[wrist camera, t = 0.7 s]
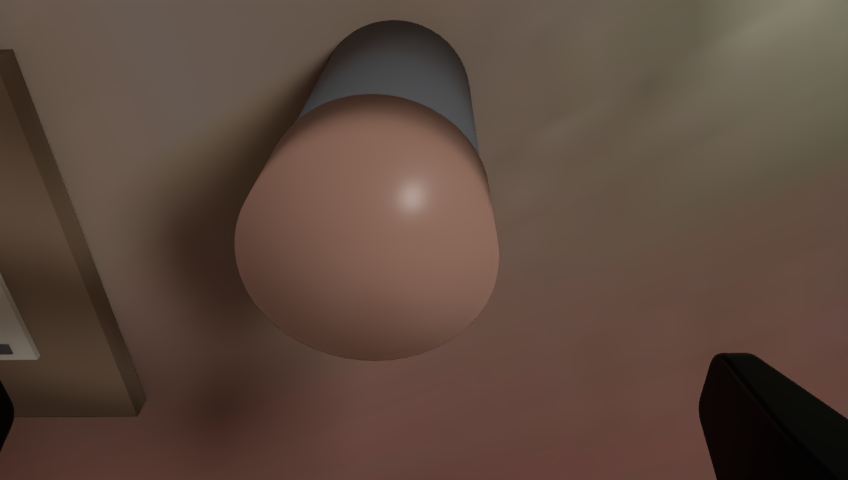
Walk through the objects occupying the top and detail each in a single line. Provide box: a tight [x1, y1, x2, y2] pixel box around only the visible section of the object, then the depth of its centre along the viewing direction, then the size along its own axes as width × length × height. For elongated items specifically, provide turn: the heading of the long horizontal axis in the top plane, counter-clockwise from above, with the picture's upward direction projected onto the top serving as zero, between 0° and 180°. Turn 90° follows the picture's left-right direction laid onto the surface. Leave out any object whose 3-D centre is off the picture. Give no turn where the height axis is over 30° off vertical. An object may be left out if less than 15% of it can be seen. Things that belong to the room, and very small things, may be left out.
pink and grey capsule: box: [234, 20, 499, 361], centre depth 13 cm, size 4×4×8 cm
